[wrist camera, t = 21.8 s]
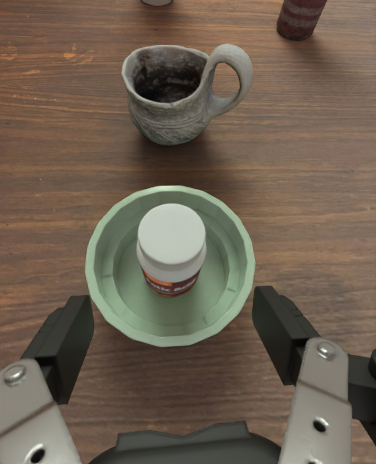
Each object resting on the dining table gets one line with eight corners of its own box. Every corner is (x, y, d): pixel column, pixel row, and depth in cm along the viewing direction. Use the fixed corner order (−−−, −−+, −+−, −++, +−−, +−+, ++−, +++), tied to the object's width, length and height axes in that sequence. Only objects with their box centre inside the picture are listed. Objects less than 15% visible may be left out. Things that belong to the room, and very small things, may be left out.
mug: (140, 96, 32) (128, -1, 23) (234, 109, 32) (259, 17, 23) (123, 152, 28) (101, 60, 19) (232, 167, 28) (260, 81, 19)
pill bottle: (144, 301, 21) (129, 274, 13) (144, 248, 23) (131, 198, 15) (200, 297, 21) (217, 269, 14) (195, 246, 23) (207, 196, 16)
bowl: (248, 341, 20) (269, 339, 16) (97, 352, 19) (74, 352, 15) (228, 213, 26) (240, 184, 21) (108, 216, 25) (94, 186, 20)
